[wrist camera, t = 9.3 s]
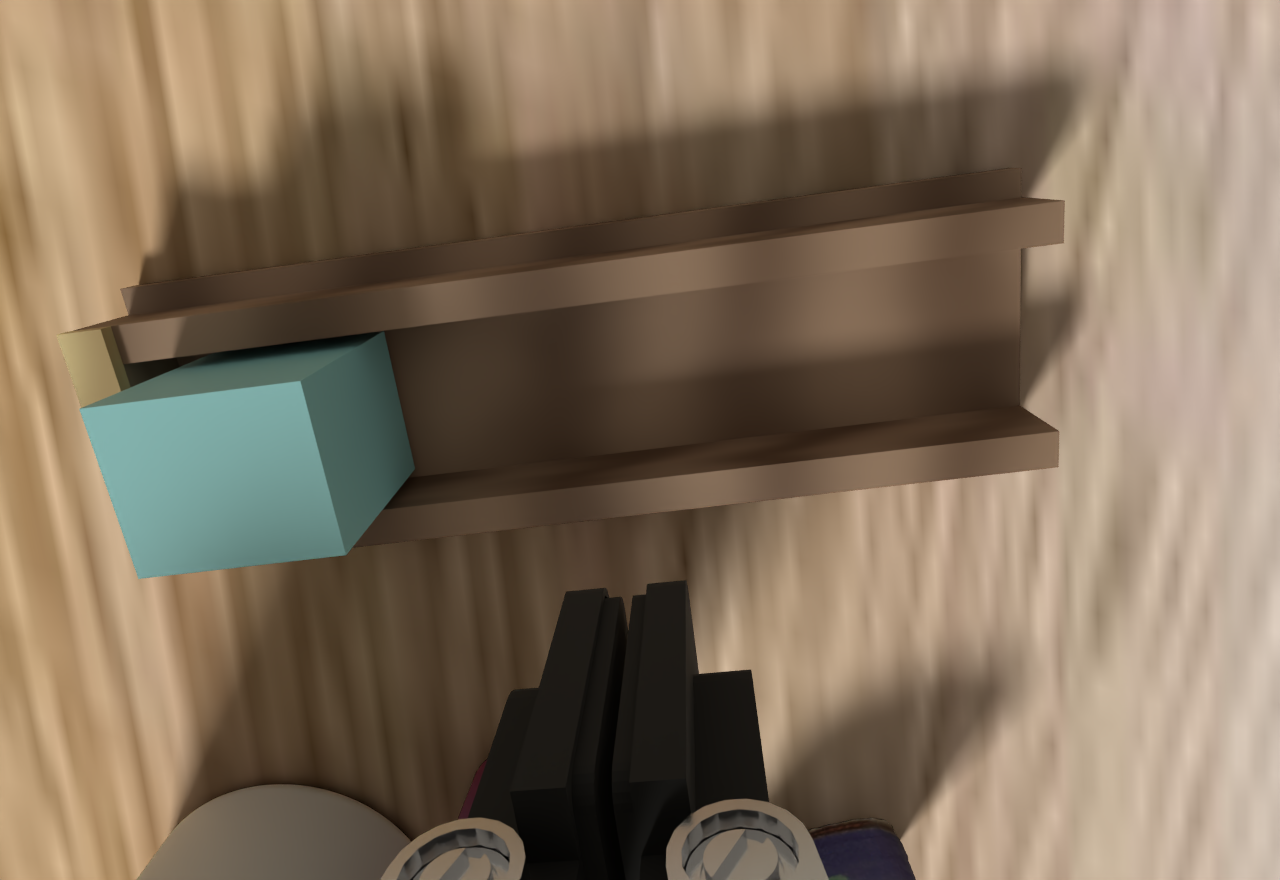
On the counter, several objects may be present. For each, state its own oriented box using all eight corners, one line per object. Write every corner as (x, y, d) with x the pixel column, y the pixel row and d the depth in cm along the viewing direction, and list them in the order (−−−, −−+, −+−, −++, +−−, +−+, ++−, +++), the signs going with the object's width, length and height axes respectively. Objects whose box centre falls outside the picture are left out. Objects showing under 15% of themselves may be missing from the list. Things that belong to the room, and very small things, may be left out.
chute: (1008, 168, 28) (1073, 167, 23) (1007, 453, 31) (1064, 499, 26) (135, 285, 29) (45, 305, 25) (216, 544, 32) (149, 601, 28)
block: (383, 331, 28) (300, 380, 22) (415, 469, 30) (346, 555, 23) (213, 352, 29) (79, 408, 22) (252, 488, 30) (138, 578, 24)
